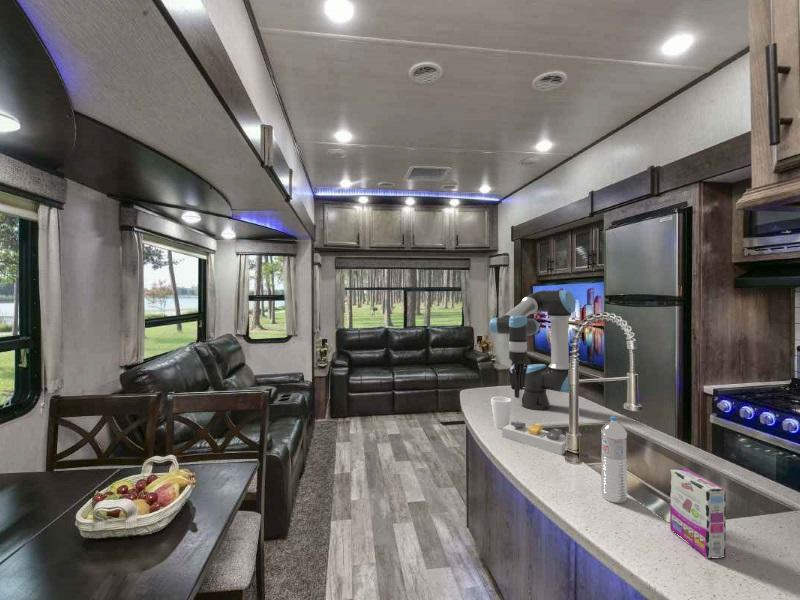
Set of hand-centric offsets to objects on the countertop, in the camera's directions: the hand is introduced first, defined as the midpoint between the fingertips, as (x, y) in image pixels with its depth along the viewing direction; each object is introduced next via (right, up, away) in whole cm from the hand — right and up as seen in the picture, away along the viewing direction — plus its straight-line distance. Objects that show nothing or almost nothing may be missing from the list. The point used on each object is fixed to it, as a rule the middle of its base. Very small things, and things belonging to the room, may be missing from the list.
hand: (518, 404), depth 162 cm
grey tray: (+8, -14, -8) cm, 19 cm away
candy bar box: (+22, -15, -70) cm, 75 cm away
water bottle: (+14, -15, -49) cm, 53 cm away
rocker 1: (0, -9, 0) cm, 9 cm away
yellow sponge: (+6, -9, -6) cm, 12 cm away
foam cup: (-4, -15, +13) cm, 20 cm away
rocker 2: (+11, -9, -11) cm, 18 cm away
